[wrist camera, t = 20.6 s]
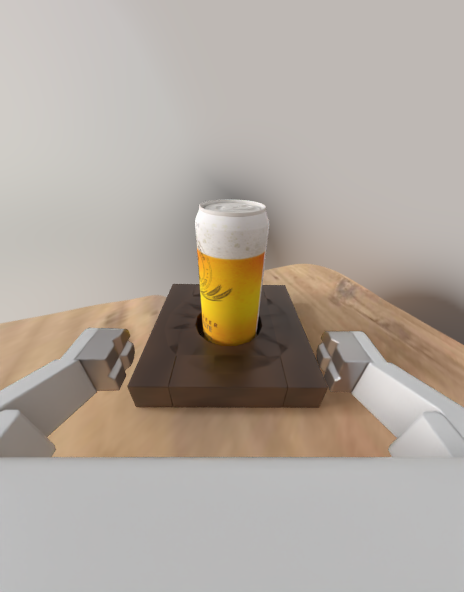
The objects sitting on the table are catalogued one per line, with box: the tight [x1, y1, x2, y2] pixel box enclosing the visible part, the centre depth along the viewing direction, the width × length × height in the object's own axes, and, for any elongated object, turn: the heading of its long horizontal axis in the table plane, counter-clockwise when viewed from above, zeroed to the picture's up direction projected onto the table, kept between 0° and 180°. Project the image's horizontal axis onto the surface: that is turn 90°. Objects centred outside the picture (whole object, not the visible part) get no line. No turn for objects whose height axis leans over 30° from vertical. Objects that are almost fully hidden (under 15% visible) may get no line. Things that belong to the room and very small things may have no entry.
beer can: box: [195, 200, 269, 346], centre depth 21 cm, size 6×6×15 cm
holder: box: [128, 284, 328, 408], centre depth 24 cm, size 16×16×3 cm
